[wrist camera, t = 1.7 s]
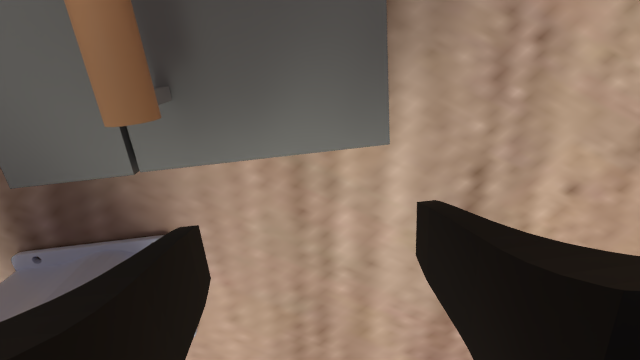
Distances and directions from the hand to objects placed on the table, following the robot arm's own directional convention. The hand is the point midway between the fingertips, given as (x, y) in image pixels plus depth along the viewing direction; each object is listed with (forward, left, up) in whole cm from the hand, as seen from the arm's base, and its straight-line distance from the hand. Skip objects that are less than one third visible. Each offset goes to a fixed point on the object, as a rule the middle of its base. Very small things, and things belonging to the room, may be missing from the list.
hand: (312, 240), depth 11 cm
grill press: (-2, +8, -6) cm, 11 cm away
